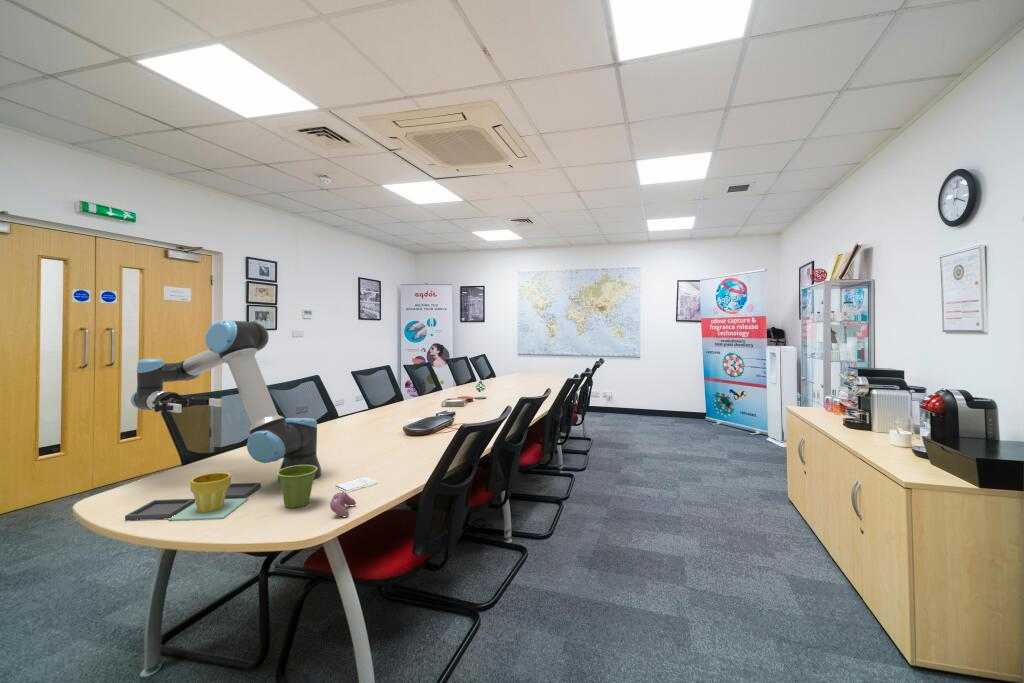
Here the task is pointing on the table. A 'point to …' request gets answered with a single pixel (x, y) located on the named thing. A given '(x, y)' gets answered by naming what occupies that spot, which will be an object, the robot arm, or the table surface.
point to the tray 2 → (241, 490)
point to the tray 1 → (160, 509)
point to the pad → (221, 513)
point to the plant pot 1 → (210, 490)
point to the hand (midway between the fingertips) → (201, 405)
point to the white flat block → (355, 483)
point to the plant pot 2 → (297, 484)
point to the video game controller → (341, 503)
